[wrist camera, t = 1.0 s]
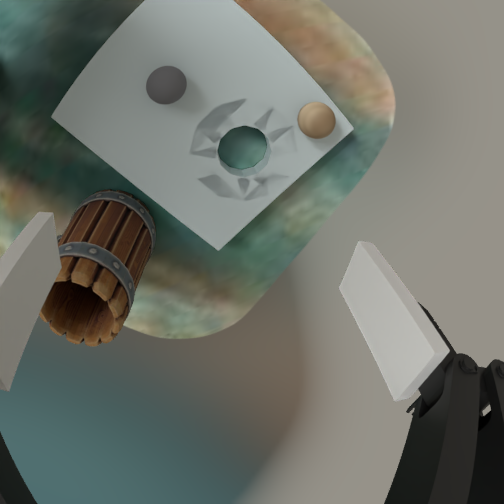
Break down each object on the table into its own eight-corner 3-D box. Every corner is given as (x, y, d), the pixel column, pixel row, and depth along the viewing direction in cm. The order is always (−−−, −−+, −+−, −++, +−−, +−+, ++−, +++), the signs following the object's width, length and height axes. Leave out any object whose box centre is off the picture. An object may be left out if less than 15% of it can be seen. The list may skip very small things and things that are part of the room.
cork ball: (285, 116, 28) (295, 122, 25) (312, 92, 27) (324, 96, 24) (309, 141, 30) (320, 150, 27) (335, 119, 29) (348, 125, 26)
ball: (142, 86, 25) (133, 89, 22) (168, 58, 24) (162, 56, 21) (169, 109, 27) (164, 115, 24) (196, 82, 26) (194, 83, 23)
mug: (147, 179, 33) (111, 253, 20) (165, 259, 38) (150, 353, 26) (34, 202, 32) (-31, 274, 19) (60, 272, 37) (19, 355, 25)
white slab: (60, 113, 27) (50, 116, 25) (188, -29, 21) (186, -36, 19) (217, 239, 38) (218, 250, 36) (345, 124, 32) (354, 128, 30)
